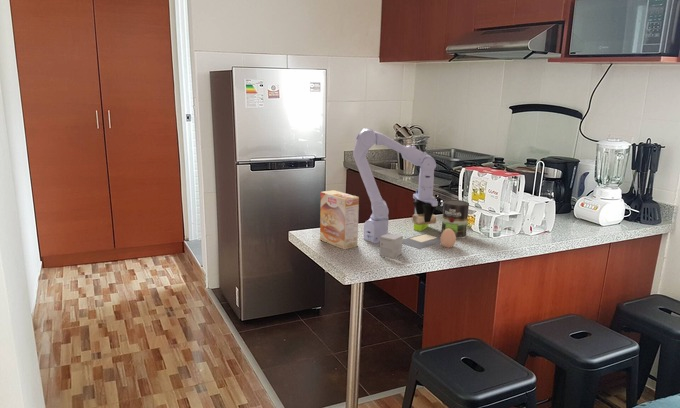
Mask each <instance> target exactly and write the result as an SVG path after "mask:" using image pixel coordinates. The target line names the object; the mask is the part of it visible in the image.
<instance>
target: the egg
mask: <svg viewBox="0 0 680 408" xmlns="http://www.w3.org/2000/svg"><path fill="white" fill-rule="evenodd" d="M439 238H440V240H441V243H440V244H441V245H442V246H443V247H444V248H452V247H454V245H455V244H456V241H457V238H456V236H455V233H454V231H453V230H452V229H449V228H448V229H445V230H444V231H443V232H442V234H441V233H440V237H439Z"/></svg>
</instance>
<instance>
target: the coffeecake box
mask: <svg viewBox="0 0 680 408" xmlns="http://www.w3.org/2000/svg"><path fill="white" fill-rule="evenodd" d="M359 201H360V197H359V196H356V195H354V194H353V195H352V194H349V193H345V192H342V191H339V190H334V189H331V190H324V191H320V209H319V210H320V214H319V215H320V219H319V222H320V223H319V228H320V230H319V241H321V240H322V241H321V242H324V243H326V242H327V243H326V244H328V245H331V246H334V247H337V248H339V249H341V250H349V249H351V248H352V249H353V248H357V247H358V241H359V240H358V236H359V235H358V234H359V210H360V207H359V206H360V204H359V203H360V202H359Z"/></svg>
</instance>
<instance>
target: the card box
mask: <svg viewBox="0 0 680 408" xmlns="http://www.w3.org/2000/svg"><path fill="white" fill-rule="evenodd" d="M411 219H412V220H411V221H412V223H413V224H414V223H415V224H417V225H424V224H428V225H431V224H437V222H436V221H437V215H435V214H434V213H433V214H432V217H431V220H430V222H425V220H424V214H416V215H415V214H412V218H411Z"/></svg>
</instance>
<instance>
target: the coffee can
mask: <svg viewBox="0 0 680 408" xmlns="http://www.w3.org/2000/svg"><path fill="white" fill-rule="evenodd" d="M442 203H443V204H442V205H443V208H442V209H443V210H442V220H441V221H442V222H441V230H440V231H441V233H440V235H441V234H442V232H443V231H444V230H445V229H448V228H449V229H452V230H453V231H454V233H455V236H456V239H466V238H467V229H468V228H467V227H468V218H469V209H470V207H469V206H470V203H469V202H468V201H465V200H461V199H445V200H444V201H443V202H442Z"/></svg>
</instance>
